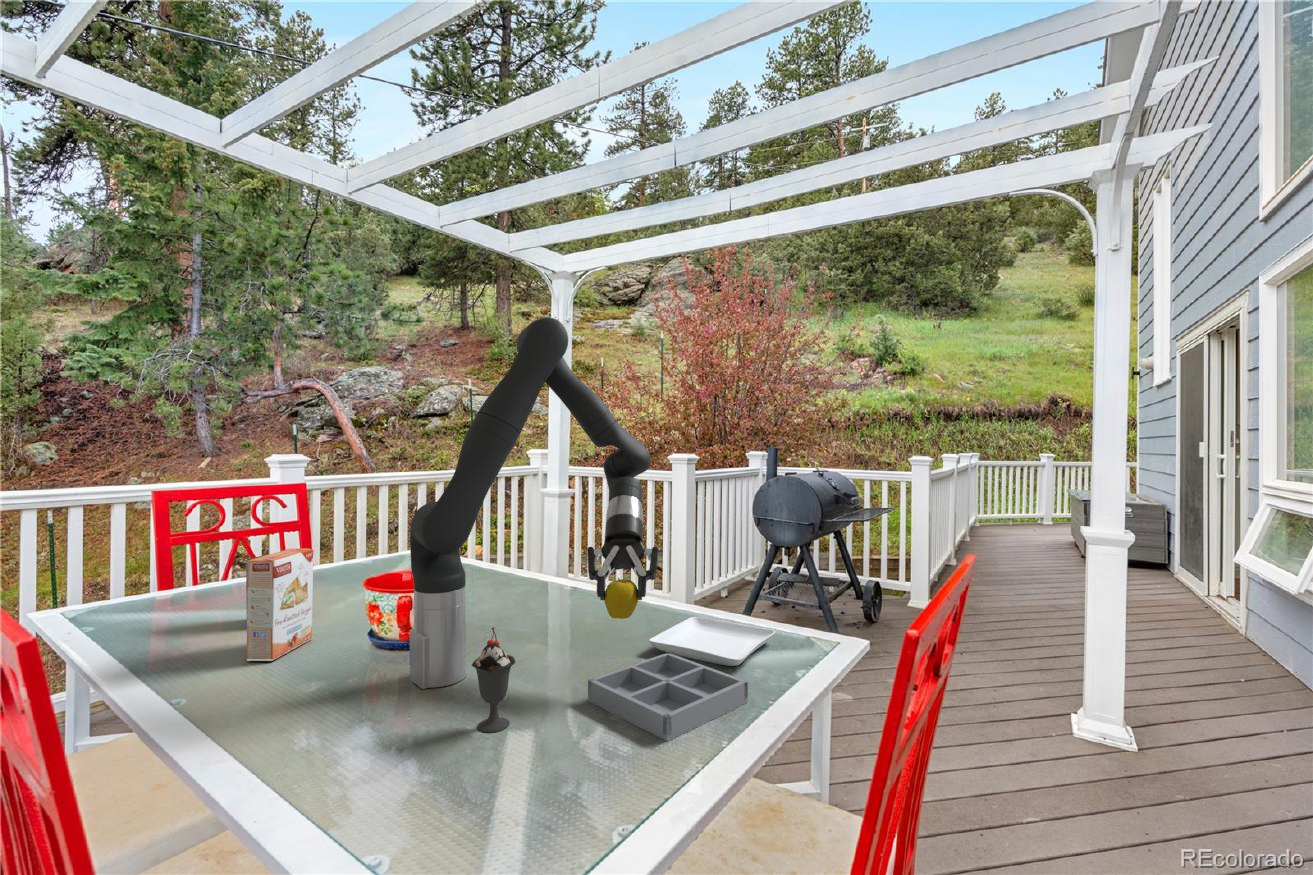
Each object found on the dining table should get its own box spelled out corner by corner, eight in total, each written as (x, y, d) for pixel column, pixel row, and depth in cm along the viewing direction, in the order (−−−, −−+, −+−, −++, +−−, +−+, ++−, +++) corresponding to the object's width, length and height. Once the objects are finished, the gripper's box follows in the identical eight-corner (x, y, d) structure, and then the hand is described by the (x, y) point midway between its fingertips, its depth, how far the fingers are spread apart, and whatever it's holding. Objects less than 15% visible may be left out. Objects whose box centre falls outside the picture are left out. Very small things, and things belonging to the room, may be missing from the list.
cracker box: (274, 663, 123) (274, 560, 123) (245, 663, 123) (245, 559, 123) (314, 640, 137) (314, 547, 137) (288, 640, 137) (288, 547, 137)
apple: (608, 626, 109) (608, 581, 109) (601, 615, 115) (600, 573, 115) (643, 622, 111) (642, 578, 111) (633, 612, 117) (633, 570, 117)
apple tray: (667, 741, 91) (667, 717, 91) (588, 700, 105) (587, 680, 105) (747, 702, 105) (747, 681, 105) (667, 670, 119) (667, 652, 119)
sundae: (498, 712, 101) (498, 621, 101) (523, 724, 97) (523, 629, 97) (463, 726, 96) (463, 631, 96) (488, 740, 92) (488, 640, 92)
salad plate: (777, 644, 136) (777, 628, 136) (740, 676, 117) (740, 658, 117) (692, 628, 146) (692, 614, 146) (646, 656, 128) (646, 640, 128)
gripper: (587, 512, 120) (579, 587, 108) (660, 511, 120) (660, 587, 108) (590, 534, 125) (583, 608, 114) (660, 534, 125) (660, 608, 114)
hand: (621, 597), depth 111 cm, fingers closed on apple, 6 cm apart
